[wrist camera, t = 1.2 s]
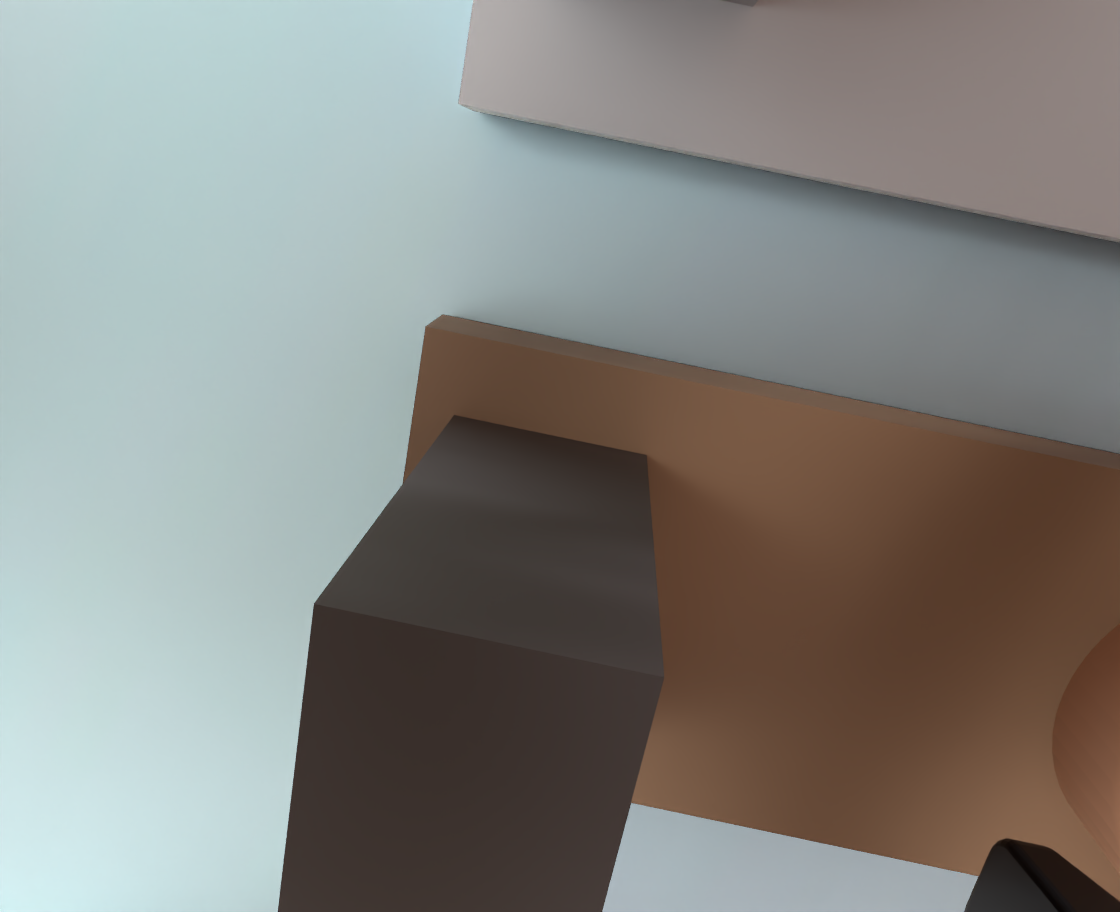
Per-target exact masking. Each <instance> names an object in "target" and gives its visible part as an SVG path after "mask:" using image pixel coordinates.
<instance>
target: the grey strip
mask: <svg viewBox="0 0 1120 912" xmlns="http://www.w3.org/2000/svg"><path fill="white" fill-rule="evenodd" d="M458 104H460V105H462V106H464V107H466V108H468V109H470V110H473V111H476V112H481V113H486V114H491V115H496V116H501V117H506V118H511V119H515V120H520V121H525V122H530V123H535V124H540V125H545V126H550V127H555V128H560V129H564V130H569V131H574V132H579V133H584V134H589V135H594V136H599V137H604V138H609V139H614V140H618V141H623V142H628V143H633V144H638V145H643V146H648V147H653V148H658V149H663V150H667V151H672V152H677V153H682V154H687V155H692V156H697V157H702V158H707V159H712V160H717V161H721V162H726V163H731V164H736V165H741V166H746V167H751V168H756V169H761V170H766V171H770V172H775V173H780V174H785V175H790V176H795V177H800V178H805V179H810V180H815V181H819V182H824V183H829V184H834V185H839V186H844V187H849V188H854V189H859V190H864V191H869V192H873V193H878V194H883V195H888V196H893V197H898V198H903V199H908V200H913V201H918V202H922V203H927V204H932V205H937V206H942V207H947V208H952V209H957V210H962V211H967V212H971V213H976V214H981V215H986V216H991V217H996V218H1001V219H1006V220H1011V221H1016V222H1021V223H1025V224H1030V225H1035V226H1040V227H1045V228H1050V229H1055V230H1060V231H1065V232H1070V233H1074V234H1079V235H1084V236H1089V237H1094V238H1099V239H1104V240H1109V241H1114V242H1119V243H1120V0H473V6H472V13H471V20H470V27H469V34H468V40H467V47H466V54H465V61H464V68H463V75H462V81H461V88H460V95H459V102H458Z"/></svg>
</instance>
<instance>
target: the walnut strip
mask: <svg viewBox="0 0 1120 912" xmlns="http://www.w3.org/2000/svg"><path fill="white" fill-rule="evenodd" d="M1118 624H1120V454H1116V453H1112V452H1107V451H1102V450H1097V449H1092V448H1087V447H1083V446H1078V445H1073V444H1068V443H1063V442H1058V441H1053V440H1049V439H1044V438H1039V437H1034V436H1029V435H1024V434H1020V433H1015V432H1010V431H1005V430H1000V429H995V428H990V427H986V426H981V425H976V424H971V423H966V422H961V421H957V420H952V419H947V418H942V417H937V416H932V415H927V414H923V413H918V412H913V411H908V410H903V409H898V408H894V407H889V406H884V405H879V404H874V403H869V402H865V401H860V400H855V399H850V398H845V397H840V396H835V395H831V394H826V393H821V392H816V391H811V390H806V389H802V388H797V387H792V386H787V385H782V384H777V383H772V382H768V381H763V380H758V379H753V378H748V377H743V376H739V375H734V374H729V373H724V372H719V371H714V370H709V369H705V368H700V367H695V366H690V365H685V364H680V363H676V362H671V361H666V360H661V359H656V358H651V357H646V356H642V355H637V354H632V353H627V352H622V351H617V350H613V349H608V348H603V347H598V346H593V345H588V344H583V343H579V342H574V341H569V340H564V339H559V338H554V337H550V336H545V335H540V334H535V333H530V332H525V331H520V330H516V329H511V328H506V327H501V326H496V325H491V324H487V323H482V322H477V321H472V320H467V319H462V318H457V317H453V316H448V315H441V316H440V317H438V318H437V319H436V320H434V321H433V322H431V323H430V324H429V325H427V326H426V328H425V335H424V342H423V348H422V355H421V362H420V369H419V376H418V383H417V390H416V396H415V403H414V410H413V417H412V424H411V431H410V437H409V444H408V451H407V458H406V465H405V472H404V478H403V484H402V486H401V487H400V489H399V490H398V491H397V493H396V494H395V495H394V497H393V498H392V499H391V501H390V502H389V503H388V505H387V506H386V507H385V509H384V510H383V511H382V513H381V514H380V516H379V517H378V518H377V520H376V521H375V522H374V524H373V525H372V526H371V528H370V529H369V530H368V532H367V533H366V534H365V536H364V537H363V538H362V540H361V541H360V542H359V544H358V545H357V547H356V548H355V549H354V551H353V552H352V553H351V555H350V556H349V557H348V559H347V560H346V561H345V563H344V564H343V565H342V567H341V568H340V569H339V571H338V572H337V574H336V575H335V576H334V578H333V579H332V580H331V582H330V583H329V584H328V586H327V587H326V588H325V590H324V591H323V592H322V594H321V595H320V596H319V598H318V599H317V601H316V602H315V603H314V609H313V617H312V626H311V634H310V643H309V651H308V660H307V668H306V677H305V685H304V694H303V702H302V711H301V719H300V728H299V736H298V745H297V753H296V762H295V770H294V779H293V787H292V796H291V804H290V813H289V821H288V830H287V838H286V847H285V855H284V864H283V872H282V881H281V889H280V898H279V906H278V912H602V910H603V906H604V902H605V898H606V895H607V891H608V887H609V883H610V880H611V876H612V872H613V868H614V865H615V861H616V857H617V853H618V850H619V846H620V842H621V838H622V835H623V831H624V827H625V823H626V820H627V816H628V812H629V808H630V805H631V803H635V804H640V805H645V806H649V807H654V808H659V809H663V810H668V811H673V812H678V813H682V814H687V815H692V816H697V817H701V818H706V819H711V820H715V821H720V822H725V823H730V824H734V825H739V826H744V827H749V828H753V829H758V830H763V831H767V832H772V833H777V834H782V835H786V836H791V837H796V838H801V839H805V840H810V841H815V842H819V843H824V844H829V845H834V846H838V847H843V848H848V849H853V850H857V851H862V852H867V853H871V854H876V855H881V856H886V857H890V858H895V859H900V860H905V861H909V862H914V863H919V864H923V865H928V866H933V867H938V868H942V869H947V870H952V871H957V872H961V873H966V874H971V875H975V876H979V875H980V872H981V870H982V868H983V865H984V863H985V861H986V858H987V856H988V854H989V852H990V850H991V848H992V846H993V845H994V844H995V843H996V842H997V841H999V840H1002V839H1005V838H1009V839H1014V840H1019V841H1024V842H1028V843H1033V844H1038V845H1043V846H1046V847H1049V848H1051V849H1053V850H1054V851H1056V852H1057V853H1059V854H1060V855H1061V856H1062V857H1064V858H1065V859H1066V860H1067V861H1069V862H1070V863H1071V864H1073V865H1074V866H1075V867H1076V868H1078V869H1079V870H1080V871H1082V872H1083V873H1084V874H1085V875H1087V876H1088V877H1089V878H1091V879H1092V880H1093V881H1094V882H1096V883H1097V884H1098V885H1100V886H1101V887H1102V888H1103V889H1105V890H1106V891H1107V892H1109V893H1110V894H1111V895H1112V896H1114V897H1115V898H1116V899H1118V900H1119V901H1120V875H1119V874H1118V872H1117V871H1116V869H1115V868H1114V867H1113V865H1112V864H1111V862H1110V861H1109V860H1108V858H1107V857H1106V855H1105V854H1104V853H1103V851H1102V850H1101V849H1100V847H1099V846H1098V844H1097V843H1096V842H1095V840H1094V839H1093V837H1092V836H1091V835H1090V833H1089V832H1088V830H1087V829H1086V828H1085V826H1084V825H1083V823H1082V822H1081V821H1080V819H1079V818H1078V816H1077V815H1076V814H1075V812H1074V811H1073V809H1072V808H1071V807H1070V805H1069V804H1068V802H1067V800H1066V798H1065V796H1064V794H1063V792H1062V790H1061V788H1060V786H1059V783H1058V779H1057V776H1056V773H1055V770H1054V762H1053V755H1052V737H1053V728H1054V723H1055V718H1056V713H1057V710H1058V707H1059V704H1060V701H1061V699H1062V696H1063V693H1064V691H1065V689H1066V687H1067V686H1068V684H1069V682H1070V680H1071V678H1072V676H1073V674H1074V673H1075V671H1076V670H1077V669H1078V667H1079V666H1080V664H1081V663H1082V661H1083V660H1084V659H1085V657H1086V656H1087V655H1088V654H1089V653H1090V651H1091V650H1092V649H1093V648H1094V647H1095V646H1096V645H1097V644H1098V643H1099V641H1100V640H1101V639H1102V638H1104V637H1105V636H1106V635H1107V634H1108V633H1109V632H1110V631H1112V630H1113V629H1114V628H1115V627H1116V626H1117V625H1118Z"/></svg>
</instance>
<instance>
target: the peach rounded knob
mask: <svg viewBox="0 0 1120 912" xmlns="http://www.w3.org/2000/svg"><path fill="white" fill-rule="evenodd" d="M1052 755H1053V762H1054V770H1055V773H1056V776H1057V779H1058V783H1059V786H1060V788H1061V790H1062V792H1063V794H1064V796H1065V798H1066V800H1067V802H1068V804H1069V805H1070V807H1071V808H1072V809H1073V811H1074V812H1075V814H1076V815H1077V816H1078V818H1079V819H1080V821H1081V822H1082V823H1083V825H1084V826H1085V828H1086V829H1087V830H1088V832H1089V833H1090V835H1091V836H1092V837H1093V839H1094V840H1095V842H1096V843H1097V844H1098V846H1099V847H1100V849H1101V850H1102V851H1103V853H1104V854H1105V855H1106V857H1107V858H1108V860H1109V861H1110V862H1111V864H1112V865H1113V867H1114V868H1115V869H1116V871H1117V872H1118V874H1119V875H1120V624H1118V625H1117V626H1116V627H1115V628H1114V629H1113V630H1112V631H1110V632H1109V633H1108V634H1107V635H1106V636H1105V637H1104V638H1102V639H1101V640H1100V641H1099V643H1098V644H1097V645H1096V646H1095V647H1094V648H1093V649H1092V650H1091V651H1090V653H1089V654H1088V655H1087V656H1086V657H1085V659H1084V660H1083V661H1082V663H1081V664H1080V666H1079V667H1078V669H1077V670H1076V671H1075V673H1074V674H1073V676H1072V678H1071V680H1070V682H1069V684H1068V686H1067V687H1066V689H1065V691H1064V693H1063V696H1062V699H1061V701H1060V704H1059V707H1058V710H1057V713H1056V718H1055V723H1054V728H1053V737H1052Z"/></svg>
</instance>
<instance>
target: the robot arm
mask: <svg viewBox="0 0 1120 912" xmlns="http://www.w3.org/2000/svg"><path fill="white" fill-rule="evenodd" d="M964 912H1120V901H1119V900H1118V899H1116V898H1115V897H1114V896H1112V895H1111V894H1110V893H1109V892H1107V891H1106V890H1105V889H1103V888H1102V887H1101V886H1100V885H1098V884H1097V883H1096V882H1094V881H1093V880H1092V879H1091V878H1089V877H1088V876H1087V875H1085V874H1084V873H1083V872H1082V871H1080V870H1079V869H1078V868H1076V867H1075V866H1074V865H1073V864H1071V863H1070V862H1069V861H1067V860H1066V859H1065V858H1064V857H1062V856H1061V855H1060V854H1059V853H1057V852H1056V851H1054V850H1053V849H1051V848H1049V847H1046V846H1043V845H1038V844H1033V843H1028V842H1024V841H1019V840H1014V839H1009V838H1005V839H1002V840H999V841H997V842H996V843H995V844H994V845H993V846H992V848H991V850H990V852H989V854H988V856H987V858H986V861H985V863H984V865H983V868H982V870H981V872H980V875H979V877H978V879H977V882H976V884H975V886H974V889H973V891H972V893H971V896H970V898H969V900H968V903H967V905H966V908H965V911H964Z"/></svg>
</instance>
